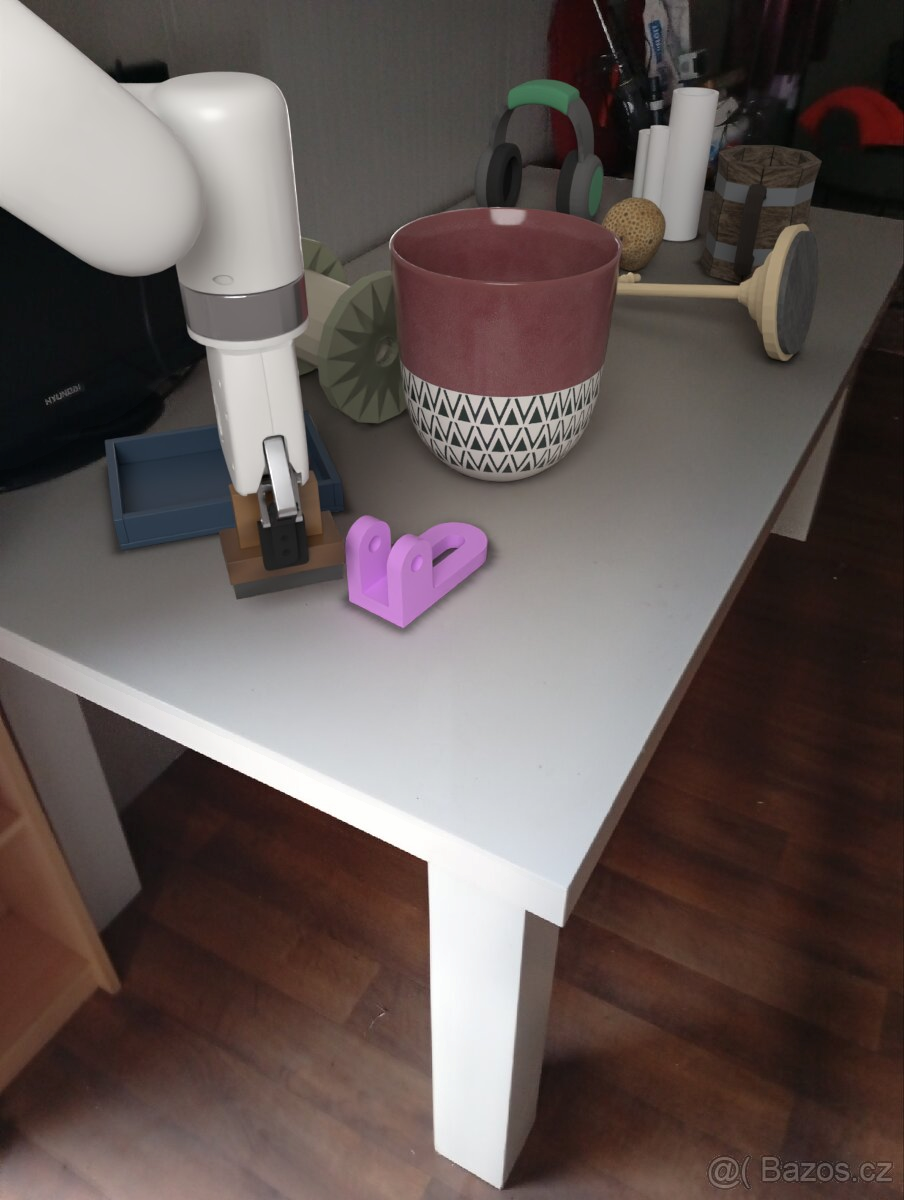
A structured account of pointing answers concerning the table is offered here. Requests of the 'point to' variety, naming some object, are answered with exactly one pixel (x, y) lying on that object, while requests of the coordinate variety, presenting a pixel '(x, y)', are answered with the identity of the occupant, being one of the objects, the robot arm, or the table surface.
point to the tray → (188, 484)
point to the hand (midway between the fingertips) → (279, 543)
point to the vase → (678, 161)
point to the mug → (755, 206)
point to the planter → (503, 333)
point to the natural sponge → (636, 230)
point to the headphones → (504, 162)
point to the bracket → (408, 566)
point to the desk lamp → (762, 291)
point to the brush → (247, 555)
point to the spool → (351, 338)
